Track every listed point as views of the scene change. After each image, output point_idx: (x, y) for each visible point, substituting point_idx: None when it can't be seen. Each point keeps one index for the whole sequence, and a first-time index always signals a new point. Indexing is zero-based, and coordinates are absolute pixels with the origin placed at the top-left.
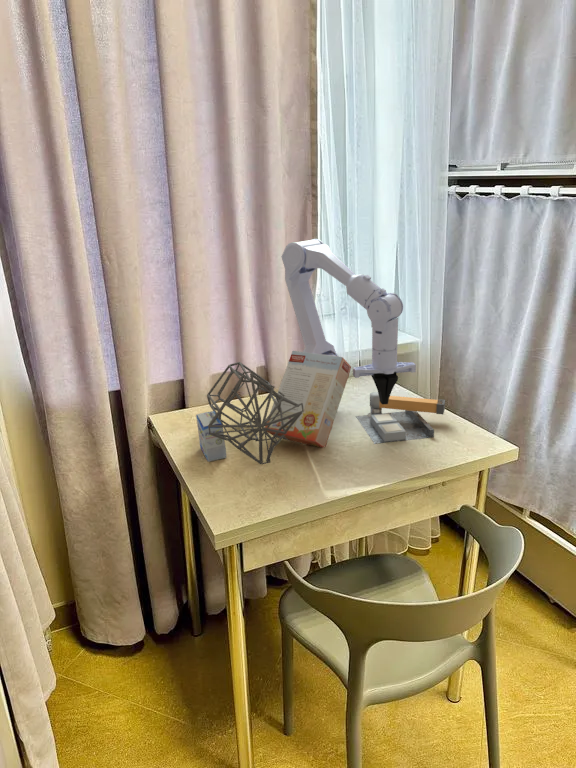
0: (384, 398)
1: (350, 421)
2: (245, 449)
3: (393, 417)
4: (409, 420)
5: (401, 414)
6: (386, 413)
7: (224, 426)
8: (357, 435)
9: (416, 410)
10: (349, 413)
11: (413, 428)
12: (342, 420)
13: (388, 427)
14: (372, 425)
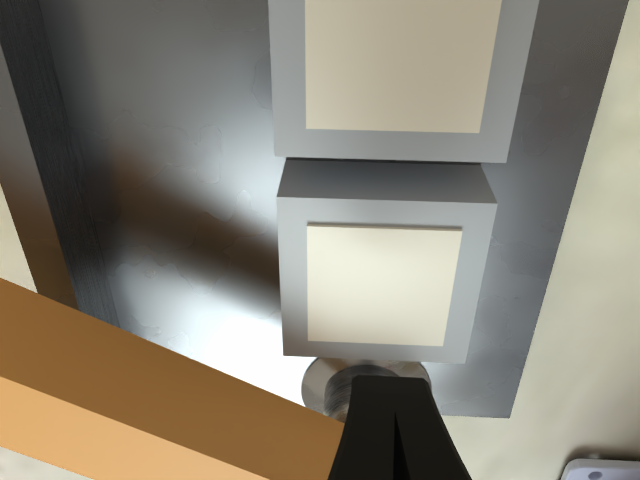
0: (419, 438)
1: (547, 386)
2: None
3: (286, 271)
4: (139, 269)
5: None
6: (319, 352)
7: None
8: (633, 176)
9: (40, 302)
10: (493, 471)
11: (136, 121)
12: (590, 409)
13: (435, 51)
14: None
